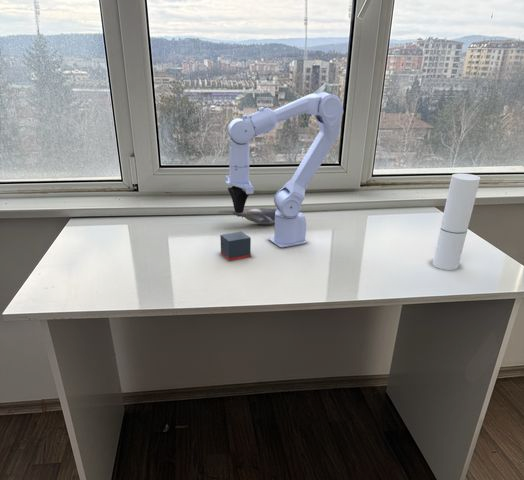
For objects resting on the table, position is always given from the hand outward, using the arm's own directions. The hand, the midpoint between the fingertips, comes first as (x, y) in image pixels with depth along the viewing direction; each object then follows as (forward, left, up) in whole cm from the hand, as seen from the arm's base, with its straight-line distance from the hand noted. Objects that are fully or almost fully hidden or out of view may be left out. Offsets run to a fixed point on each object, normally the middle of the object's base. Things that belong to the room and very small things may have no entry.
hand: (239, 212), depth 149 cm
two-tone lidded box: (+5, +7, -4) cm, 10 cm away
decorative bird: (-13, -15, -11) cm, 23 cm away
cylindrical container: (-47, +40, -11) cm, 63 cm away
